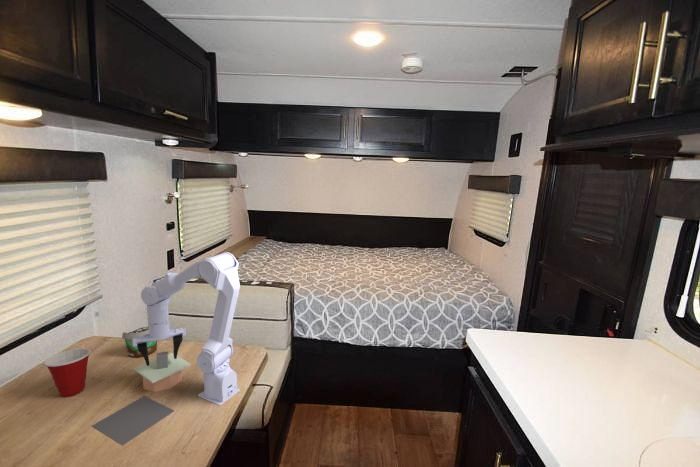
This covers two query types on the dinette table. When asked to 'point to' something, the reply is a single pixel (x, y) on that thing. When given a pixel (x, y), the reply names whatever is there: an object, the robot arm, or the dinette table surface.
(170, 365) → the sheet
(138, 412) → the mat
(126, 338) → the food container
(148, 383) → the bowl
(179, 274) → the robot arm
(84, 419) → the dinette table surface
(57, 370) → the plastic cup
